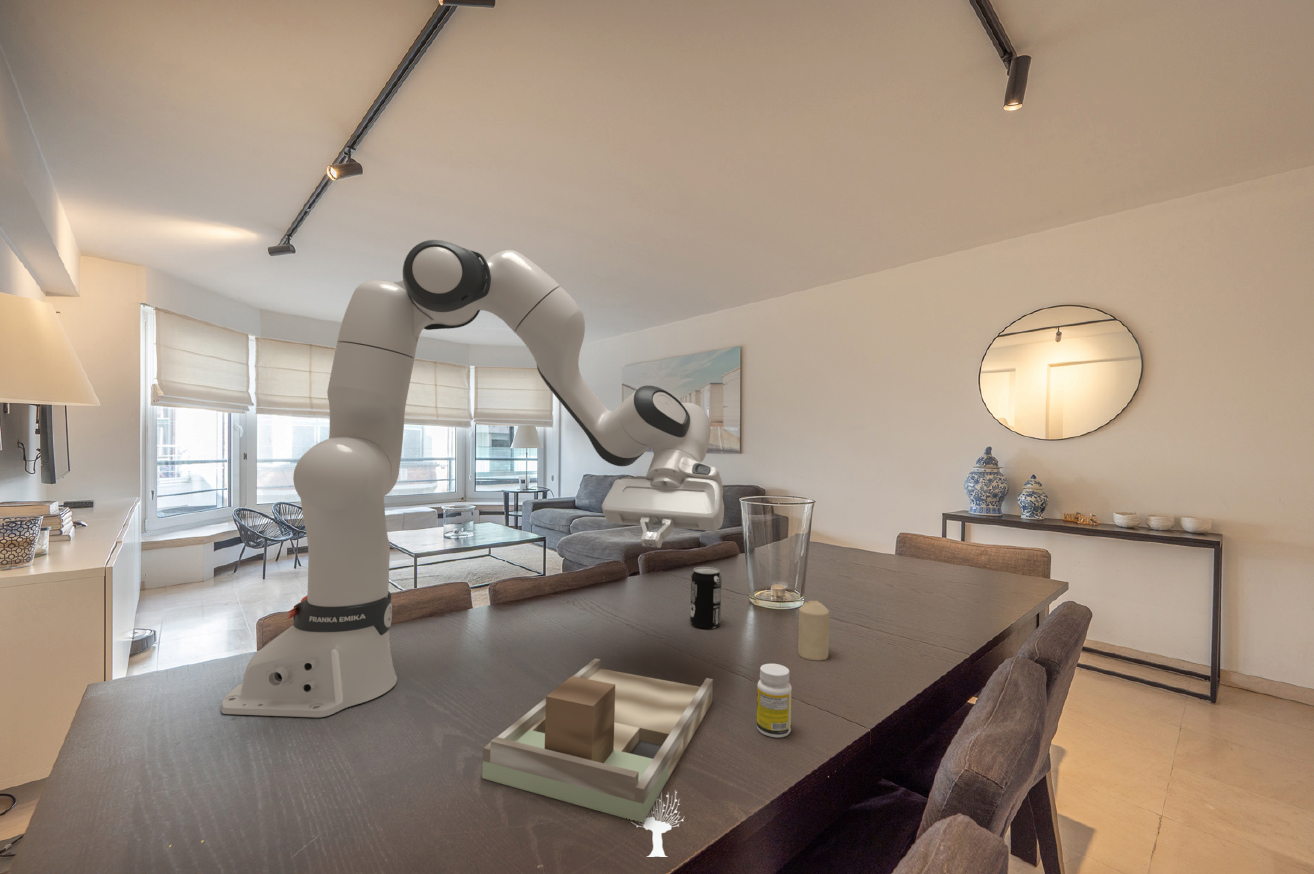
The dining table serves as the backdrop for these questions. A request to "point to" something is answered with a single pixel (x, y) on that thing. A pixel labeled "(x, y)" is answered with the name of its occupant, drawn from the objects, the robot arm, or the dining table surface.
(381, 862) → the dining table surface
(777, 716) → the supplement bottle
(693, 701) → the box
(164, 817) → the dining table surface
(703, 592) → the beverage can
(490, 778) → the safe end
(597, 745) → the walnut block
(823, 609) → the candle
